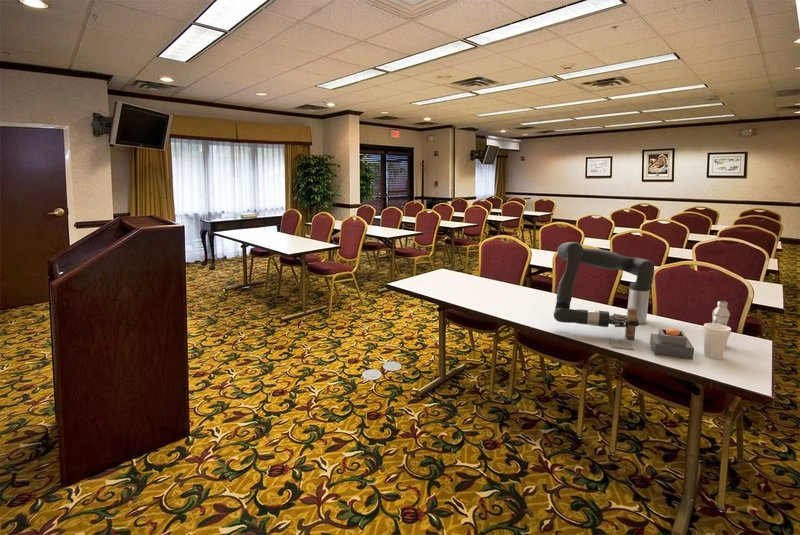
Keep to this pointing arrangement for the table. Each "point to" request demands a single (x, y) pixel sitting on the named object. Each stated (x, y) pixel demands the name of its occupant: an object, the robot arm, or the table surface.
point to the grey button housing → (671, 345)
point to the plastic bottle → (720, 313)
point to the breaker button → (672, 332)
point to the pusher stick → (630, 329)
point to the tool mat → (621, 344)
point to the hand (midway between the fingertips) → (637, 322)
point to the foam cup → (715, 339)
